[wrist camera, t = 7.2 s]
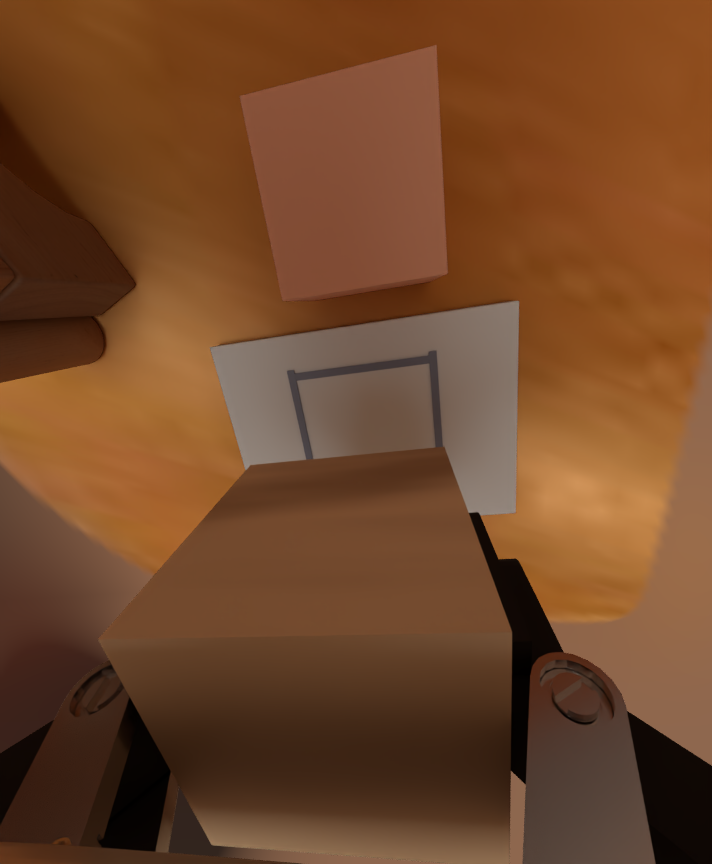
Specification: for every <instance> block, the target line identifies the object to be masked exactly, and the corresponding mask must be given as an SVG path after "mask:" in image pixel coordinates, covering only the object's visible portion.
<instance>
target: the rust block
mask: <svg viewBox="0 0 712 864" xmlns="http://www.w3.org/2000/svg"><path fill="white" fill-rule="evenodd" d="M240 101H241V105H242V110H243V115H244V120H245V125H246V129H247V134H248V139H249V144H250V148H251V153H252V158H253V163H254V167H255V172H256V177H257V182H258V186H259V191H260V196H261V201H262V206H263V210H264V215H265V220H266V225H267V229H268V234H269V239H270V244H271V248H272V253H273V258H274V263H275V267H276V272H277V277H278V282H279V287H280V291H281V296H282V301H317V300H323V299H329V298H335V297H341V296H347V295H353V294H359V293H366V292H372V291H378V290H384V289H390V288H396V287H402V286H408V285H414V284H420V283H426V282H431V281H433V280H435V279H437V278H439V277H442V276H444V275H446V274H448V266H447V246H446V226H445V206H444V186H443V166H442V146H441V126H440V106H439V86H438V66H437V46H436V45H435V46H431V47H427V48H423V49H419V50H415V51H411V52H408V53H404V54H400V55H396V56H392V57H388V58H384V59H381V60H377V61H373V62H369V63H365V64H361V65H357V66H354V67H350V68H346V69H342V70H338V71H334V72H330V73H327V74H323V75H319V76H315V77H311V78H307V79H303V80H299V81H296V82H292V83H288V84H284V85H280V86H276V87H272V88H269V89H265V90H261V91H257V92H253V93H249V94H245V95H242V96H240Z"/></svg>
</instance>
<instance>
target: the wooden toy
mask: <svg viewBox="0 0 712 864" xmlns="http://www.w3.org/2000/svg"><path fill="white" fill-rule="evenodd" d="M134 286H135V283H134V281H133V280H132V278H131V277H130V276H129V274H128V273H127V272H126V270H125V269H124V268H123V266H122V265H121V264H120V262H119V261H118V260H117V258H116V257H115V255H114V254H113V253H112V251H111V250H110V249H109V247H108V246H107V245H106V243H105V242H104V241H103V239H102V238H101V237H100V235H99V234H98V233H97V231H96V230H95V228H94V227H93V226H92V225H91V224H90V223H89V222H87V221H85V220H83V219H81V218H78V217H76V216H73V215H71V214H68V213H66V212H65V211H63V210H62V209H60V208H59V207H57V206H56V205H54V204H53V203H51V202H49V201H48V200H46V199H45V198H43V197H42V196H40V195H39V194H37V193H36V192H34V191H33V190H32V189H31V188H29V187H28V186H27V185H26V184H25V183H23V182H22V181H21V180H20V179H19V178H17V177H16V176H15V175H14V174H13V173H12V172H10V171H9V170H8V169H7V168H6V167H4V166H3V165H2V164H1V163H0V383H1V382H6V381H11V380H15V379H20V378H25V377H30V376H34V375H39V374H44V373H48V372H53V371H58V370H63V369H67V368H72V367H77V366H81V365H86V364H90V363H92V362H94V361H96V360H97V359H98V358H99V356H100V355H101V354H102V352H103V349H104V338H103V335H102V332H101V329H100V328H99V326H98V325H97V323H96V322H95V321H94V320H93V319H92V318H91V317H90V316H98V315H101V314H102V313H103V312H105V311H106V310H107V309H108V308H109V307H111V306H112V305H113V304H114V303H115V302H117V301H118V300H119V299H120V298H121V297H123V296H124V295H125V294H126V293H127V292H129V291H130V290H131V289H132V288H133V287H134Z"/></svg>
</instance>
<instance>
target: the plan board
mask: <svg viewBox="0 0 712 864" xmlns="http://www.w3.org/2000/svg"><path fill="white" fill-rule="evenodd" d="M518 336H519V301H507V302H500V303H494V304H487V305H481V306H474V307H468V308H461V309H454V310H448V311H441V312H435V313H428V314H421V315H415V316H408V317H402V318H395V319H389V320H382V321H375V322H369V323H362V324H356V325H349V326H343V327H336V328H329V329H323V330H316V331H310V332H303V333H296V334H290V335H283V336H277V337H270V338H264V339H257V340H250V341H244V342H237V343H231V344H224V345H218V346H214V347H210V350H211V353H212V357H213V360H214V364H215V367H216V371H217V374H218V377H219V381H220V384H221V388H222V391H223V394H224V398H225V401H226V405H227V408H228V411H229V415H230V418H231V422H232V425H233V429H234V432H235V435H236V439H237V442H238V446H239V449H240V452H241V456H242V459H243V463H244V466H245V470H247V469H248V467H249V466H250V465H256V464H266V463H277V462H287V461H298V460H309V459H319V458H330V457H340V456H351V455H361V454H372V453H382V452H393V451H404V450H414V449H425V448H435V447H445V450H446V452H447V455H448V458H449V461H450V463H451V466H452V469H453V472H454V474H455V477H456V480H457V483H458V485H459V488H460V491H461V493H462V496H463V499H464V502H465V504H466V507H467V510H468V513H473V512H478V513H479V514H480V515H493V514H508V513H516V460H517V398H518Z"/></svg>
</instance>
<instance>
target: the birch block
mask: <svg viewBox="0 0 712 864" xmlns="http://www.w3.org/2000/svg"><path fill="white" fill-rule="evenodd" d="M98 640H99V642H100V644H101V646H102V648H103V649H104V651H105V653H106V655H107V657H108V659H109V660H110V662H111V664H112V666H113V668H114V669H115V671H116V673H117V675H118V677H119V678H120V680H121V682H122V684H123V686H124V687H125V689H126V691H127V693H128V695H129V696H130V698H131V700H132V702H133V704H134V705H135V707H136V709H137V711H138V713H139V714H140V716H141V718H142V720H143V722H144V723H145V725H146V727H147V729H148V731H149V733H150V734H151V736H152V738H153V740H154V742H155V743H156V745H157V747H158V749H159V751H160V752H161V754H162V756H163V758H164V760H165V761H166V763H167V765H168V767H169V769H170V770H171V772H172V774H173V776H174V778H175V779H176V781H177V783H178V785H179V786H180V788H181V790H182V792H183V794H184V796H185V797H186V799H187V801H188V803H189V805H190V806H191V808H192V810H193V812H194V814H195V815H196V817H197V819H198V821H199V823H200V825H201V826H202V828H203V830H204V832H205V833H206V835H207V837H208V839H209V840H210V843H211V844H212V845H217V846H230V847H243V848H257V849H268V850H281V851H294V852H308V853H320V854H334V855H346V856H359V857H373V858H386V859H398V860H411V861H424V862H437V863H450V864H510V863H509V862H510V782H511V781H510V779H511V695H512V630H511V628H510V625H509V622H508V619H507V617H506V614H505V611H504V608H503V606H502V603H501V600H500V597H499V595H498V592H497V589H496V587H495V584H494V581H493V578H492V576H491V573H490V570H489V567H488V565H487V562H486V559H485V556H484V554H483V551H482V548H481V545H480V543H479V540H478V537H477V535H476V532H475V529H474V526H473V524H472V521H471V518H470V515H469V513H468V510H467V507H466V504H465V502H464V499H463V496H462V493H461V491H460V488H459V485H458V483H457V480H456V477H455V474H454V472H453V469H452V466H451V463H450V461H449V458H448V455H447V452H446V450H445V447H435V448H425V449H414V450H404V451H393V452H382V453H372V454H361V455H351V456H340V457H330V458H319V459H309V460H298V461H287V462H277V463H266V464H256V465H250V466H249V467H248V469H247V470H246V471H245V472H244V473H243V474H242V475H241V477H240V478H239V479H238V480H237V481H236V482H235V483H234V485H233V486H232V487H231V488H230V489H229V490H228V491H227V493H226V494H225V495H224V496H223V497H222V498H221V499H220V501H219V502H218V503H217V504H216V505H215V506H214V507H213V509H212V510H211V511H210V512H209V513H208V514H207V515H206V517H205V518H204V519H203V520H202V521H201V522H200V523H199V525H198V526H197V527H196V528H195V529H194V530H193V531H192V533H191V534H190V535H189V536H188V537H187V538H186V539H185V541H184V542H183V543H182V544H181V545H180V546H179V547H178V549H177V550H176V551H175V552H174V553H173V554H172V555H171V557H170V558H169V559H168V560H167V561H166V562H165V563H164V565H163V566H162V567H161V568H160V569H159V570H158V571H157V573H156V574H155V575H154V576H153V577H152V578H151V579H150V581H149V582H148V583H147V584H146V585H145V587H143V589H142V590H141V591H140V592H139V593H138V594H137V595H136V597H135V598H134V599H133V600H132V601H131V603H129V605H128V606H127V607H126V608H125V609H124V610H123V612H122V613H121V614H120V615H119V616H118V617H117V618H116V619H115V621H114V622H113V623H112V624H111V625H110V626H109V627H108V629H107V630H106V631H105V632H104V633H103V634H102V636H101V637H100V638H99V639H98Z"/></svg>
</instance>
